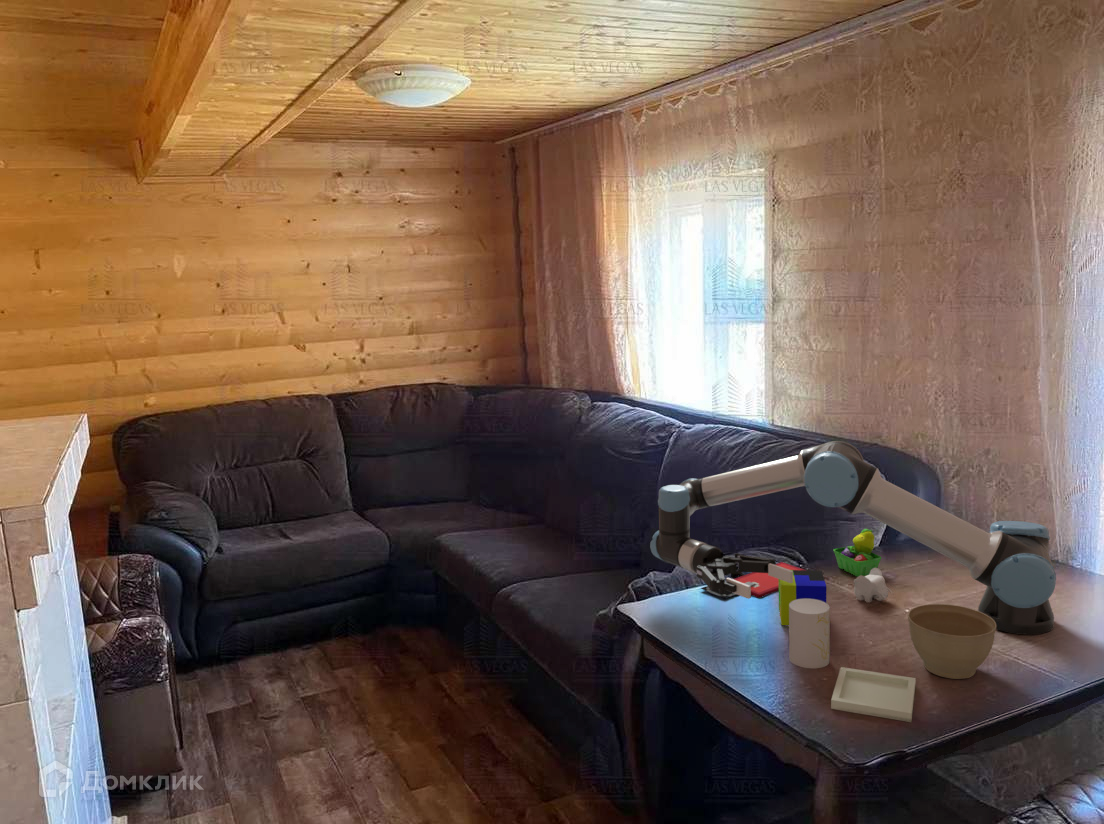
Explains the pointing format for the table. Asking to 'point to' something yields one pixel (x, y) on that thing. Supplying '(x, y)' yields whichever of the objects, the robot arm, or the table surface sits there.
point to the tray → (874, 694)
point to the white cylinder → (809, 633)
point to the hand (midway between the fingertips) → (771, 584)
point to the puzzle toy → (800, 590)
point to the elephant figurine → (871, 586)
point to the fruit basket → (858, 555)
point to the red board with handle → (756, 582)
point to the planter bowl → (951, 638)
